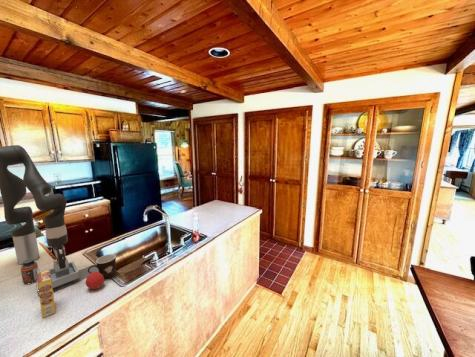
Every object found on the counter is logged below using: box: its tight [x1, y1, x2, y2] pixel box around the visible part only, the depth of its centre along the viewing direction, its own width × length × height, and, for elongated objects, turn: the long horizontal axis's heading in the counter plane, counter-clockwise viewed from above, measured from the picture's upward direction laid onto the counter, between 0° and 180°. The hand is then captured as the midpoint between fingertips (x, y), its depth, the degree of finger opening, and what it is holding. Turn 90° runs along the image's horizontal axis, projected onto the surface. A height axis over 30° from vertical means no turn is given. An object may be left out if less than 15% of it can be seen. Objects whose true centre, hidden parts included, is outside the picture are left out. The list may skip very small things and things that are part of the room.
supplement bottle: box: [20, 259, 39, 285], centre depth 99 cm, size 6×6×11 cm
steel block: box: [52, 256, 70, 279], centre depth 99 cm, size 5×5×8 cm
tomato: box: [84, 272, 105, 290], centre depth 95 cm, size 8×8×8 cm
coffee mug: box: [88, 253, 117, 281], centre depth 102 cm, size 12×9×10 cm
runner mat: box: [36, 263, 99, 298], centre depth 102 cm, size 11×26×1 cm, turn 138°
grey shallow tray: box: [37, 261, 80, 288], centre depth 98 cm, size 14×14×8 cm
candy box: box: [36, 269, 56, 319], centre depth 81 cm, size 9×4×15 cm, turn 47°
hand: (61, 264), depth 99 cm, fingers open, 8 cm apart
